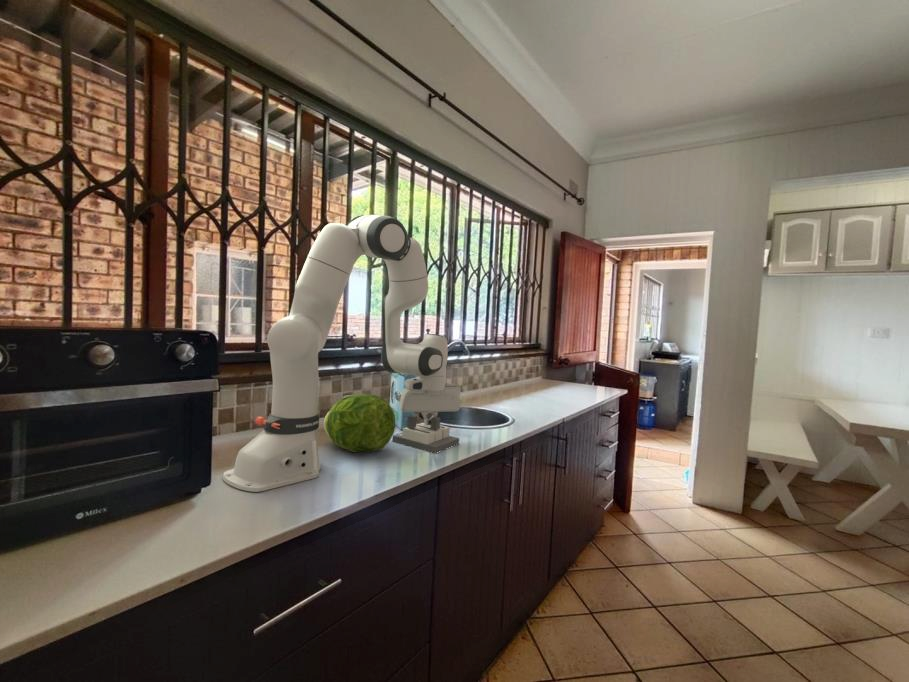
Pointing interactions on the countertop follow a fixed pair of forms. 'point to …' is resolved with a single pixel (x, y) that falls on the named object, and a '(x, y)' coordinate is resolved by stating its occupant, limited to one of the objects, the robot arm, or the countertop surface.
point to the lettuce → (360, 423)
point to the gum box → (395, 396)
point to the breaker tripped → (435, 423)
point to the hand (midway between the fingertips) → (428, 424)
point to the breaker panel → (427, 447)
